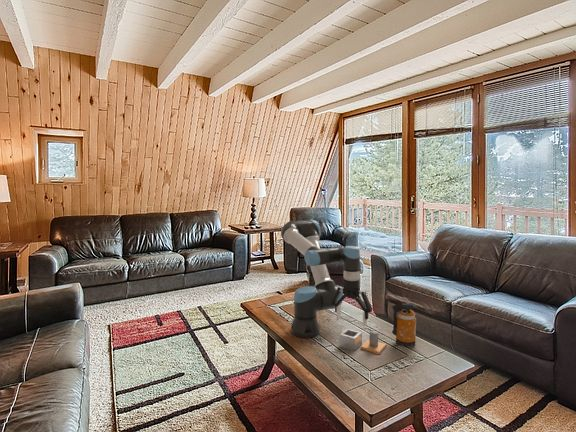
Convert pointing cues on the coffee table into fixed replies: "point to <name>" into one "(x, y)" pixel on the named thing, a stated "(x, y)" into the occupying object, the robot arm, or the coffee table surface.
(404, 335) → the canister
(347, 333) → the grey hollow block
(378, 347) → the block
